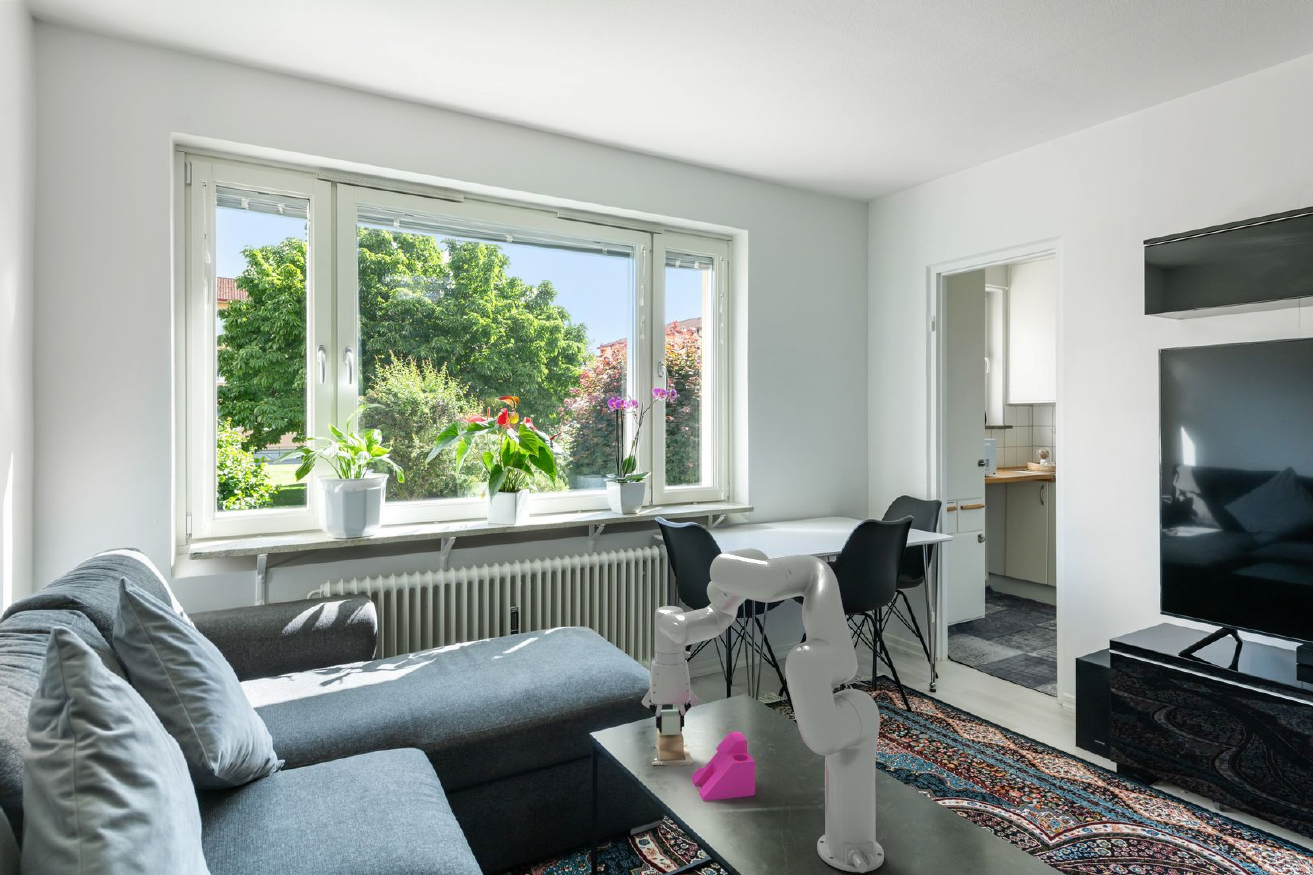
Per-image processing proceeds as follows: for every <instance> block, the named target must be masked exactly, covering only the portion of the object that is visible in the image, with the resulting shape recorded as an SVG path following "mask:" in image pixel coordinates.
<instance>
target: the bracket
mask: <svg viewBox="0 0 1313 875" xmlns="http://www.w3.org/2000/svg"><path fill="white" fill-rule="evenodd" d="M715 749H716V751H717V752H716V753H715V754H714V756H713V757H712V758H711V759H710V760H709V761H708V763H707V764H706V765H705V766H704V767H699V768H697V769H696V771H695V772H694V773H693V774H692V775H691V781H692V783H693V785H694V786H695V787H700V786H701V788H699V790H698V791H699V792H698V793H699V796H700V797H701V799H702V801H703V802H706V801H707V802H708V801H715V800H716V801H717V800H726V799H731V798H732V799H733V798H742V797H750V796H752V797H753V796H755V795H756V762H755V760H754V758H753V756H751V755H750V753H749V752H748V739H747V738H746V737H745V736H744V735H743V733H742V732H741V731H734V732H729V733H728V734H727V735H726V736H725V737H724V739H723V740H721V742H720V743H719V744H718V745H717V747H715Z"/></svg>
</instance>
